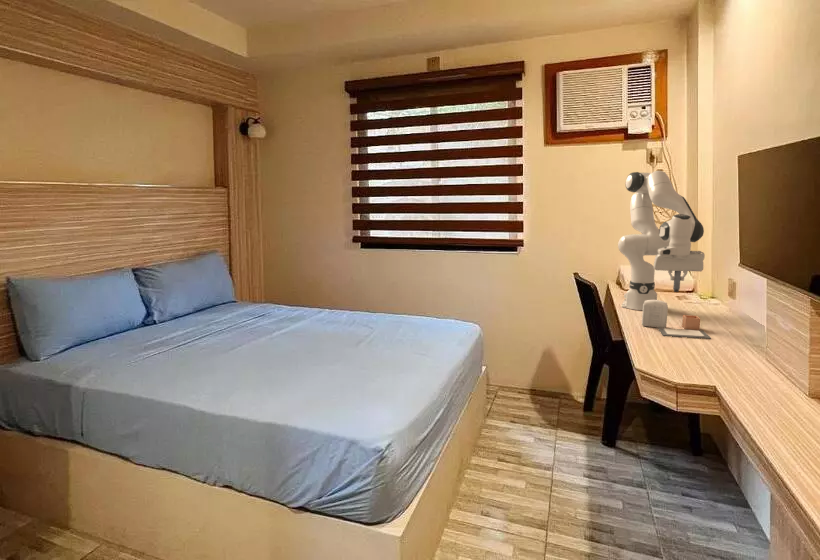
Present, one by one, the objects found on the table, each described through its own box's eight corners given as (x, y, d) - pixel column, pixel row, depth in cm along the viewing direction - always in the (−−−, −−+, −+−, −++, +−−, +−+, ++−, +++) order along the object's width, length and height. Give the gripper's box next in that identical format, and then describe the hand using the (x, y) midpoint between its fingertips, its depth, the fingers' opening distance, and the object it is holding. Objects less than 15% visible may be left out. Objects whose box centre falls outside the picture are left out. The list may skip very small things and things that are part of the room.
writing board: (657, 329, 227) (658, 327, 227) (703, 331, 222) (703, 329, 222) (663, 336, 216) (663, 334, 216) (710, 339, 211) (710, 337, 211)
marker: (672, 291, 236) (674, 267, 234) (678, 291, 236) (680, 267, 234) (673, 292, 234) (675, 268, 232) (680, 292, 233) (681, 268, 231)
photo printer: (666, 326, 231) (668, 300, 229) (666, 328, 228) (668, 301, 226) (642, 324, 236) (643, 298, 234) (641, 326, 233) (642, 299, 231)
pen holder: (681, 326, 231) (682, 315, 230) (696, 327, 229) (697, 315, 228) (684, 330, 225) (685, 317, 224) (699, 330, 224) (700, 318, 223)
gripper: (703, 250, 231) (700, 280, 234) (654, 249, 237) (652, 278, 240) (706, 251, 225) (704, 282, 228) (656, 250, 231) (654, 280, 234)
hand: (677, 280), depth 234 cm, fingers closed on marker, 3 cm apart
